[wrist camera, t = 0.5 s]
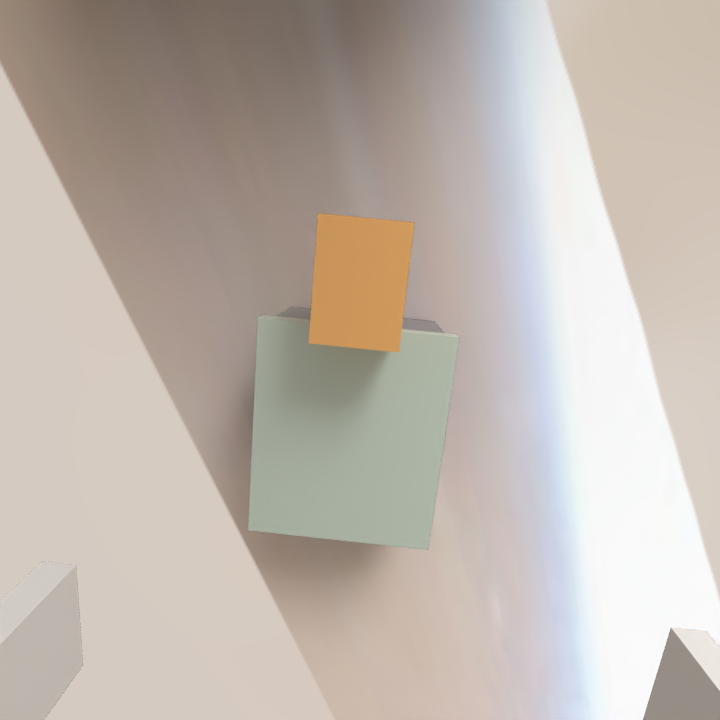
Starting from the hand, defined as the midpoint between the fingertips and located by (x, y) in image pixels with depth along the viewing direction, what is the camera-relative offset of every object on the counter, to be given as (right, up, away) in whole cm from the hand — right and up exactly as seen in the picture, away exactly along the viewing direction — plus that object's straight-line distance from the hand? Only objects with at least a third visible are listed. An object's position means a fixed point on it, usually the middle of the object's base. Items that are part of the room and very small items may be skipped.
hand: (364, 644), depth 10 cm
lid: (0, +5, +17) cm, 17 cm away
